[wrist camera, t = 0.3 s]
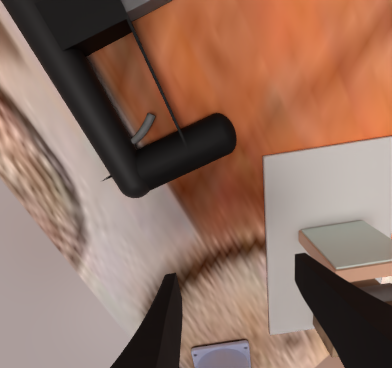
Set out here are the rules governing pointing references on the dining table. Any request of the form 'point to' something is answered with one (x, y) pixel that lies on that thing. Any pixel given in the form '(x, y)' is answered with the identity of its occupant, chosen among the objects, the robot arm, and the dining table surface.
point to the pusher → (371, 286)
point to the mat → (318, 211)
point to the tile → (350, 250)
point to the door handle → (97, 99)
